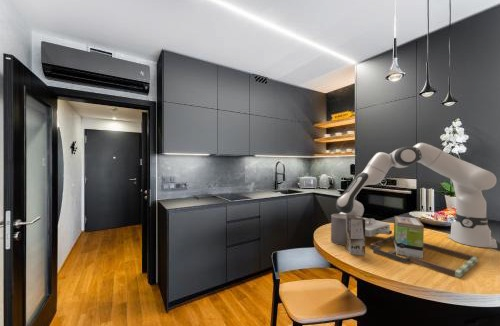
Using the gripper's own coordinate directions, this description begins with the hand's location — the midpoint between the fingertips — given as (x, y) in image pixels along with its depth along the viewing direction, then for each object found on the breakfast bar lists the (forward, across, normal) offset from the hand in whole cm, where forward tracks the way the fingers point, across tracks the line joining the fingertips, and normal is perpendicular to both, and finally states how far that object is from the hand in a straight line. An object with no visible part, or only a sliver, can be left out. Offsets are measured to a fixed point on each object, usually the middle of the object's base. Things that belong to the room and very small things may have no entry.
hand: (390, 232), depth 110 cm
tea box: (+7, 0, +7) cm, 10 cm away
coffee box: (-6, -22, +6) cm, 23 cm away
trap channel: (+12, -2, +6) cm, 14 cm away
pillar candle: (-16, -17, +6) cm, 24 cm away
